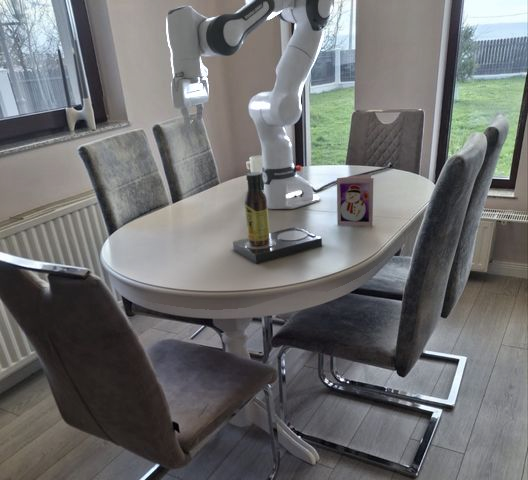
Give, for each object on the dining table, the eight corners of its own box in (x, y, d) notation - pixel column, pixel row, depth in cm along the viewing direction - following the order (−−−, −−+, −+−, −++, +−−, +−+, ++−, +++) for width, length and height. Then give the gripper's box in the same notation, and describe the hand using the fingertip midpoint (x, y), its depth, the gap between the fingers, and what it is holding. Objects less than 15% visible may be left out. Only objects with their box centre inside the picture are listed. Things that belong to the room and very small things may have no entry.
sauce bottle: (248, 241, 151) (241, 172, 141) (269, 238, 151) (263, 169, 142) (249, 248, 146) (242, 176, 136) (271, 245, 146) (265, 174, 136)
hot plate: (295, 234, 162) (295, 225, 160) (321, 246, 150) (321, 236, 149) (233, 250, 154) (232, 241, 152) (256, 263, 142) (255, 254, 140)
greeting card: (336, 226, 166) (336, 178, 158) (342, 219, 171) (342, 173, 164) (371, 227, 162) (372, 178, 154) (376, 220, 167) (377, 173, 160)
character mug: (274, 185, 225) (272, 154, 218) (269, 189, 219) (267, 158, 213) (251, 186, 228) (248, 155, 222) (245, 189, 222) (242, 158, 216)
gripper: (183, 72, 142) (190, 125, 149) (209, 68, 159) (215, 117, 165) (162, 74, 144) (171, 126, 150) (191, 70, 160) (197, 118, 167)
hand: (194, 121), depth 158 cm, fingers open, 8 cm apart
